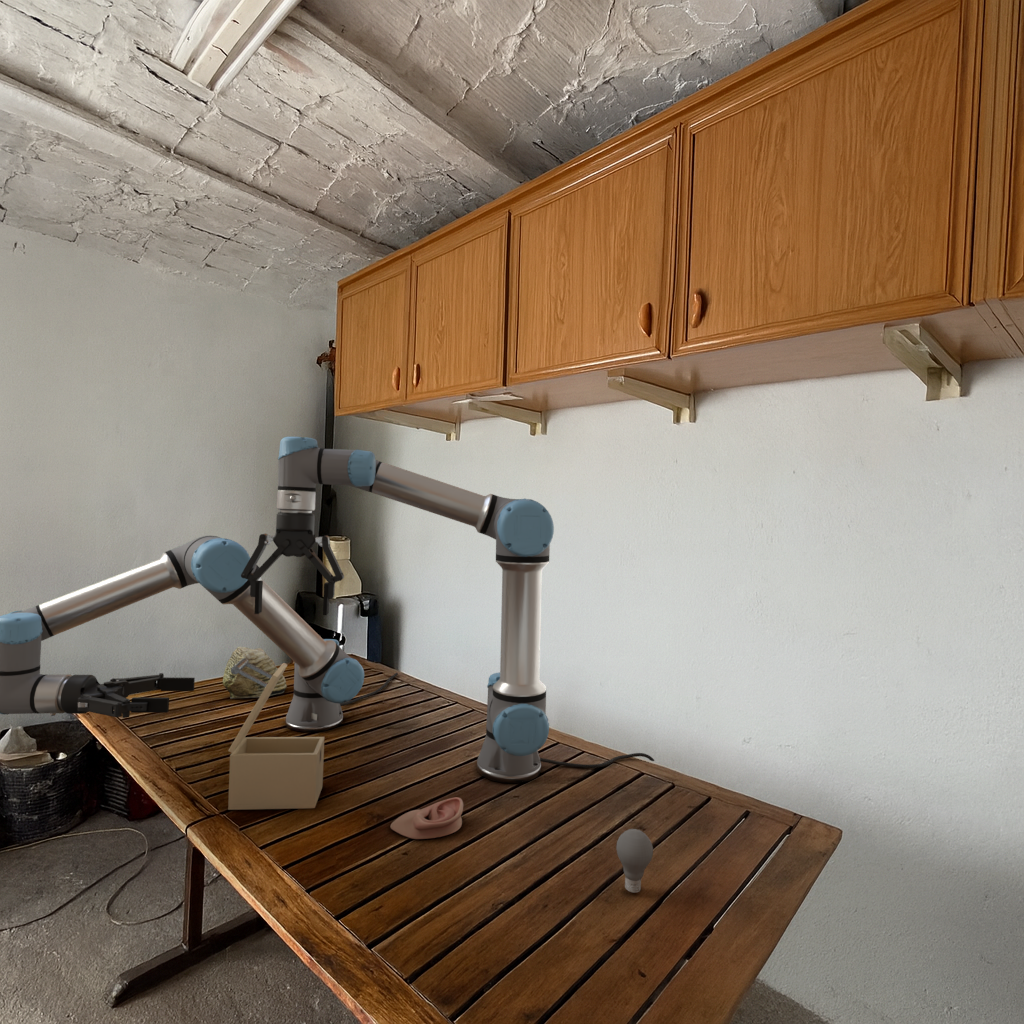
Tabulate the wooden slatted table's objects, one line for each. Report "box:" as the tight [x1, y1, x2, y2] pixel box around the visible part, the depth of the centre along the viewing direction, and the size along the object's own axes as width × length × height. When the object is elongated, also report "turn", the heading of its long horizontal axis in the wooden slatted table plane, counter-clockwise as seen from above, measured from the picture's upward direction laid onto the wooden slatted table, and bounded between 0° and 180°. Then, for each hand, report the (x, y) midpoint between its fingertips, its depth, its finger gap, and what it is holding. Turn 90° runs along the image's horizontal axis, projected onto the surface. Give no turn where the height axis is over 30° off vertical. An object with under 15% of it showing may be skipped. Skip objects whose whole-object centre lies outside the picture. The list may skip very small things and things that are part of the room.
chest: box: [227, 736, 325, 811], centre depth 132 cm, size 17×10×11 cm, turn 98°
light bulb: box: [615, 828, 654, 894], centre depth 106 cm, size 6×6×10 cm
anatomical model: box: [390, 797, 464, 840], centre depth 124 cm, size 13×4×12 cm
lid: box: [227, 658, 288, 754], centre depth 131 cm, size 17×10×9 cm
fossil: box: [222, 646, 288, 699], centre depth 198 cm, size 9×18×15 cm, turn 132°
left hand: (181, 694), depth 129 cm, fingers open, 13 cm apart
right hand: (292, 613), depth 132 cm, fingers open, 13 cm apart
